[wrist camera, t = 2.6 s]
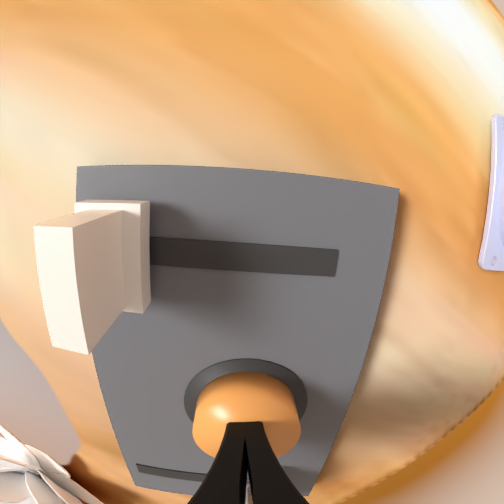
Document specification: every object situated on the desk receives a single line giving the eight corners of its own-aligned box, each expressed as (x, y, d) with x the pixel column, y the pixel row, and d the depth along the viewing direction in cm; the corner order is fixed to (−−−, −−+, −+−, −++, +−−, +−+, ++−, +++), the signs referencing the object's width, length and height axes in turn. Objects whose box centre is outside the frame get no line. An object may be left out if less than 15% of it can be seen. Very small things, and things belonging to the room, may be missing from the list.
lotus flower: (-28, 384, 14) (-78, 440, 5) (121, 470, 16) (94, 561, 7) (3, 460, 17) (-23, 506, 8) (116, 519, 19) (102, 576, 10)
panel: (385, 186, 11) (400, 189, 10) (305, 483, 16) (308, 496, 15) (91, 166, 10) (75, 166, 9) (138, 473, 15) (135, 486, 14)
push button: (302, 372, 12) (310, 400, 10) (286, 437, 13) (291, 463, 11) (195, 367, 11) (190, 396, 10) (198, 433, 12) (194, 461, 11)
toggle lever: (150, 201, 9) (95, 218, 5) (151, 301, 10) (110, 365, 6) (88, 199, 9) (16, 217, 5) (93, 294, 10) (38, 347, 6)
